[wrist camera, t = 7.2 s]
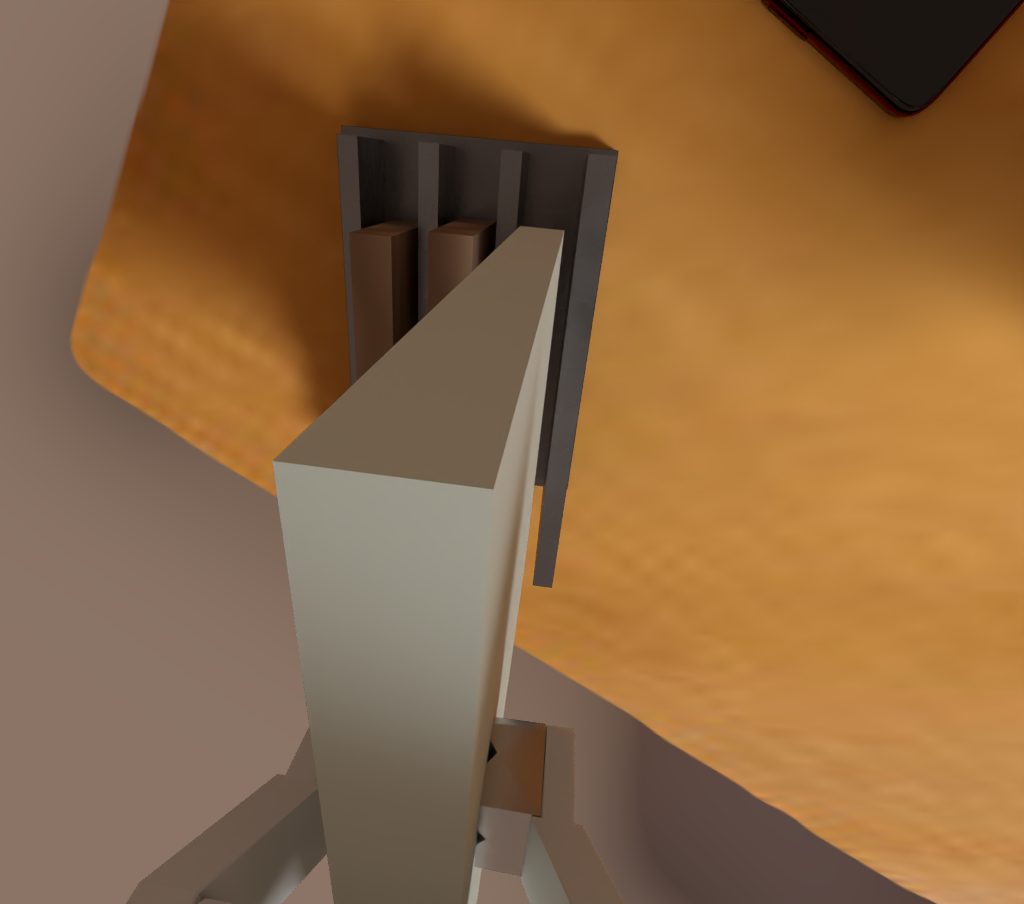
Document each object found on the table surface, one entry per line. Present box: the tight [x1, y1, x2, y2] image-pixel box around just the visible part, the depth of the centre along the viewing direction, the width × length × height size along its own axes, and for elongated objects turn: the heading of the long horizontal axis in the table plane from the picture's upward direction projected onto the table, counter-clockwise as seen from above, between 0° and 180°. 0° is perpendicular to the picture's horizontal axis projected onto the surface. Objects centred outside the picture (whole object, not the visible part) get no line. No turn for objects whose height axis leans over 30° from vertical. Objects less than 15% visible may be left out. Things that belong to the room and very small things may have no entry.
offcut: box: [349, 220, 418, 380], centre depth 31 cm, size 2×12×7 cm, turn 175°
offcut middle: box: [428, 217, 497, 313], centre depth 31 cm, size 2×13×8 cm, turn 175°
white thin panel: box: [273, 226, 564, 904], centre depth 15 cm, size 2×15×18 cm, turn 175°
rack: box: [337, 125, 618, 588], centre depth 30 cm, size 15×21×12 cm
